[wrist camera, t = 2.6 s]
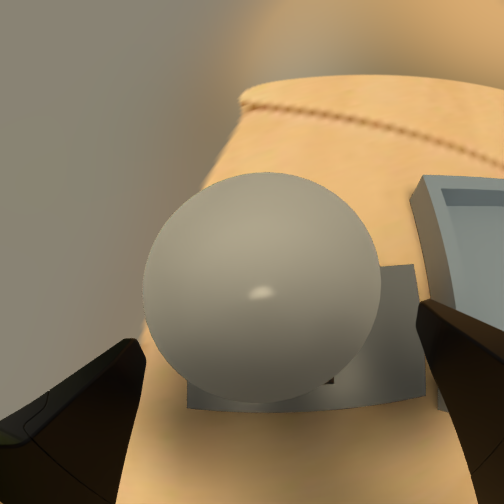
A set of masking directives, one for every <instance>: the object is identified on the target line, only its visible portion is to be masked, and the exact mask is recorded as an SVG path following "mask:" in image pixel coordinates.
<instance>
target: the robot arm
mask: <svg viewBox="0 0 504 504" xmlns="http://www.w3.org/2000/svg"><path fill="white" fill-rule="evenodd" d="M416 330H417V333H418V336H419V339H420V341H421V344H422V347H423V350H424V353H425V356H426V359H427V362H428V365H429V367H430V370H431V372H432V374H433V377H434V379H435V381H436V383H437V386H438V388H439V390H440V393H441V395H442V397H443V400H444V402H445V404H446V407H447V409H448V412H449V414H450V417H451V419H452V422H453V425H454V427H455V430H456V433H457V435H458V438H459V441H460V444H461V447H462V450H463V453H464V456H465V459H466V462H467V465H468V468H469V471H470V474H471V479H472V482H473V486H474V490H475V493H476V497H477V501H478V504H504V331H502V330H500V329H498V328H496V327H493V326H491V325H489V324H487V323H485V322H482V321H480V320H478V319H476V318H473V317H471V316H469V315H467V314H464V313H462V312H460V311H458V310H455V309H453V308H451V307H448V306H446V305H444V304H441V303H439V302H437V301H435V300H432V299H429V300H425V301H421V302H420V303H419V305H418V311H417V318H416ZM145 368H146V357H145V355H144V353H143V351H142V349H141V347H140V345H139V342H138V341H137V340H136V339H134V338H126V339H123V340H122V341H120V342H119V343H117V344H116V345H114V346H113V347H111V348H110V349H109V350H107V351H106V352H104V353H103V354H101V355H100V356H98V357H97V358H96V359H94V360H93V361H91V362H90V363H88V364H87V365H85V366H84V367H82V368H81V369H80V370H78V371H77V372H75V373H74V374H72V375H71V376H69V377H68V378H66V379H65V380H64V381H62V382H61V383H59V384H58V385H56V386H55V387H53V388H52V389H50V391H47V392H46V393H45V394H43V395H42V396H40V397H39V398H37V399H36V400H34V401H33V402H31V403H30V404H28V405H26V406H25V407H23V408H21V409H20V410H18V411H16V412H15V413H13V414H11V415H9V416H8V417H6V418H4V419H2V420H1V421H0V504H116V498H117V493H118V489H119V484H120V479H121V475H122V470H123V466H124V461H125V457H126V453H127V449H128V444H129V440H130V436H131V432H132V429H133V425H134V421H135V417H136V413H137V410H138V406H139V402H140V397H141V391H142V385H143V379H144V373H145Z"/></svg>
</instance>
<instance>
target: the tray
mask: <svg viewBox="0 0 504 504" xmlns="http://www.w3.org/2000/svg"><path fill="white" fill-rule="evenodd" d="M410 204H411V207H412V211H413V214H414V218H415V222H416V226H417V230H418V234H419V238H420V243H421V247H422V252H423V257H424V261H425V267H426V272H427V278H428V283H429V290H430V296H431V299H432V300H435V301H437V302H439V303H441V304H444V305H446V306H448V307H451V308H453V309H455V310H458V311H460V312H462V313H464V314H467V315H469V316H471V317H473V318H476V319H478V320H480V321H482V322H485V323H487V324H489V325H491V326H493V327H496V328H498V329H500V330H502V331H504V179H496V178H482V177H466V176H443V175H422V177H421V179H420V181H419V183H418V185H417V187H416V189H415V191H414V193H413V195H412V197H411V199H410ZM438 410H441V411H445V412H448V409H447V407H446V404H445V402H444V400H443V397H442V395H441V393H440V390H439V388H438Z"/></svg>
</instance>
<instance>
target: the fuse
mask: <svg viewBox="0 0 504 504" xmlns="http://www.w3.org/2000/svg"><path fill="white" fill-rule="evenodd" d="M380 292H381V275H380V265H379V261H378V256H377V252H376V249H375V246H374V244H373V241H372V238H371V236H370V234H369V233H368V231H367V229H366V227H365V225H364V224H363V222H362V221H361V220H360V218H359V217H358V216H357V214H356V213H355V212H354V211H353V210H352V209H351V208H350V207H349V205H348V204H347V203H346V202H344V201H343V200H342V199H341V198H339V197H338V196H337V195H336V194H334V193H333V192H331V191H330V190H328V189H326V188H325V187H323V186H321V185H319V184H317V183H315V182H312V181H310V180H307V179H304V178H301V177H298V176H294V175H288V174H283V173H270V172H265V173H251V174H244V175H239V176H235V177H232V178H228V179H225V180H223V181H220V182H217V183H215V184H213V185H211V186H209V187H207V188H205V189H203V190H202V191H200V192H199V193H197V194H196V195H194V196H193V197H191V198H190V199H189V200H188V201H186V202H185V203H184V204H183V205H181V206H180V207H179V209H177V211H176V212H175V213H174V214H173V215H172V216H171V217H170V218H169V220H168V221H167V222H166V223H165V225H164V226H163V228H162V229H161V231H160V232H159V234H158V236H157V238H156V239H155V241H154V244H153V246H152V248H151V250H150V253H149V256H148V259H147V262H146V266H145V272H144V277H143V292H142V294H143V308H144V313H145V317H146V322H147V325H148V328H149V330H150V333H151V336H152V338H153V340H154V342H155V344H156V346H157V347H158V349H159V351H160V352H161V354H162V355H163V356H164V358H165V359H166V361H167V362H168V363H169V364H170V365H171V366H172V367H173V368H174V369H175V370H176V371H177V372H178V373H179V374H180V375H181V376H182V377H184V378H185V379H186V380H188V381H189V382H190V383H191V384H193V385H195V386H197V387H198V388H200V389H202V390H204V391H205V392H208V393H210V394H213V395H215V396H218V397H221V398H224V399H228V400H233V401H237V402H247V403H269V402H277V401H282V400H287V399H291V398H294V397H297V396H300V395H303V394H305V393H308V392H310V391H312V390H314V389H316V388H318V387H319V386H321V385H323V384H325V383H326V382H328V381H329V380H330V379H332V378H333V377H334V376H336V375H337V374H338V373H339V372H340V371H342V370H343V369H344V368H345V367H346V366H347V365H348V364H349V363H350V362H351V361H352V359H353V358H354V357H355V355H356V354H357V353H358V351H359V350H360V349H361V347H362V346H363V344H364V342H365V341H366V339H367V337H368V335H369V333H370V331H371V329H372V326H373V323H374V321H375V318H376V315H377V311H378V306H379V301H380Z"/></svg>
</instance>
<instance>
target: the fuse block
mask: <svg viewBox="0 0 504 504" xmlns="http://www.w3.org/2000/svg"><path fill="white" fill-rule="evenodd" d="M380 275H381V292H380V301H379V306H378V311H377V315H376V318H375V321H374V323H373V326H372V329H371V331H370V333H369V335H368V337H367V339H366V341H365V342H364V344H363V346H362V347H361V349H360V350H359V351H358V353H357V354H356V355H355V357H354V358H353V359H352V361H351V362H350V363H349V364H348V365H347V366H346V367H345V368H344V369H343V370H342V371H340V372H339V373H338V374H337V375H336V376H334V377H333V378H332V379H330V380H329V382H326V383H325V384H323V385H321V386H319V387H318V388H316V389H314V390H312V391H310V392H308V393H305V394H303V395H300V396H297V397H294V398H291V399H287V400H282V401H277V402H269V403H247V402H237V401H233V400H228V399H224V398H221V397H218V396H215V395H213V394H210V393H208V392H205V391H204V390H202V389H200V388H198V387H197V386H195V385H193V384H191V383H190V382H189V381H188V380H187V408H190V409H200V410H212V411H227V412H253V413H285V412H311V411H326V410H338V409H348V408H357V407H365V406H372V405H379V404H385V403H391V402H397V401H402V400H407V399H412V398H417V397H422V396H426V374H425V353H424V350H423V347H422V344H421V341H420V339H419V336H418V333H417V330H416V318H417V311H418V305H419V303H420V302H419V295H418V288H417V282H416V276H415V270H414V264H410V265H398V266H385V267H380Z"/></svg>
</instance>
